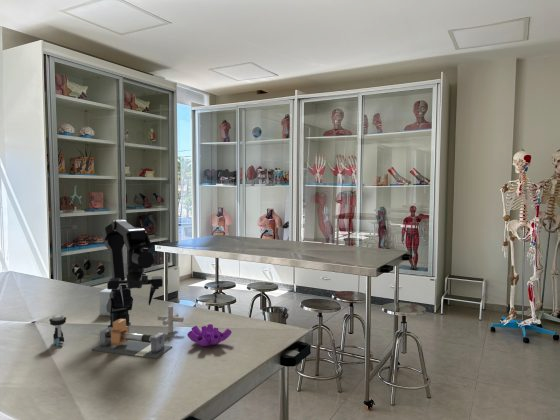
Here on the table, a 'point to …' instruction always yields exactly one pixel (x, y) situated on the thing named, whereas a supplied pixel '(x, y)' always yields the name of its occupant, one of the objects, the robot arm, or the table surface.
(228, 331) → the purple tube cluster
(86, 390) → the table surface
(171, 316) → the pipe connector
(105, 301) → the skincare box
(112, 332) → the collar
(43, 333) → the table surface
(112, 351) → the grey base plate
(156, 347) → the linear slide rail
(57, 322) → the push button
